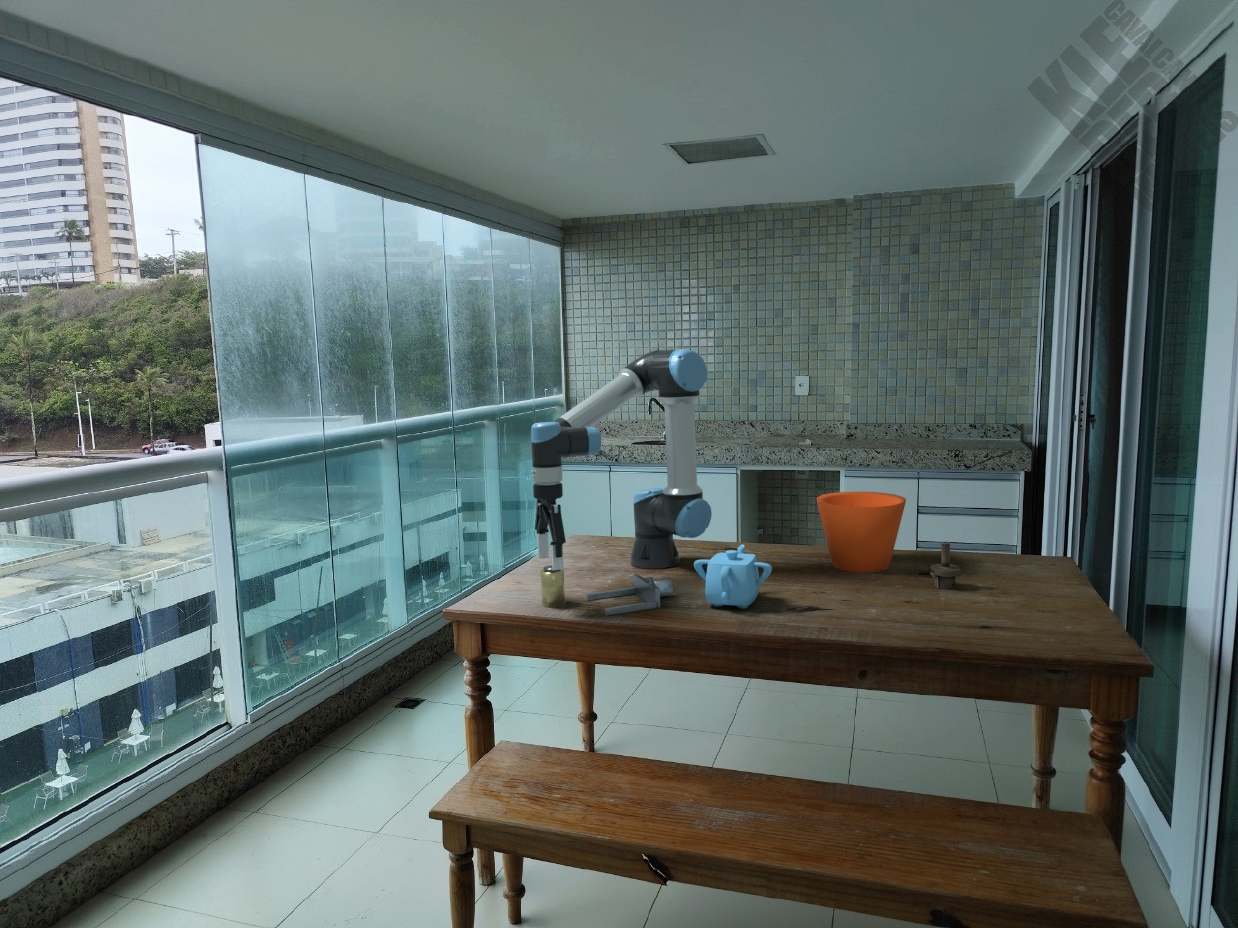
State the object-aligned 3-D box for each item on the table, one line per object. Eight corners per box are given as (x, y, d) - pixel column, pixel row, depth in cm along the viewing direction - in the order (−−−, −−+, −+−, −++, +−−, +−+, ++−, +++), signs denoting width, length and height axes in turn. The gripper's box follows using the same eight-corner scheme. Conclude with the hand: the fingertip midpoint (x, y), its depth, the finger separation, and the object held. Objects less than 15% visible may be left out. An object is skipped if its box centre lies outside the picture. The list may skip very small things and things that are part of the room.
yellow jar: (561, 599, 219) (559, 563, 218) (568, 605, 214) (566, 568, 213) (539, 602, 217) (537, 566, 216) (545, 608, 212) (543, 571, 210)
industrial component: (958, 583, 220) (959, 539, 219) (963, 591, 213) (964, 545, 212) (921, 582, 222) (921, 539, 221) (925, 590, 215) (926, 545, 214)
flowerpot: (914, 559, 246) (915, 494, 243) (892, 580, 225) (893, 509, 222) (832, 551, 259) (832, 489, 256) (804, 570, 238) (804, 503, 236)
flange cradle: (658, 588, 225) (657, 568, 225) (681, 603, 211) (681, 581, 211) (586, 599, 218) (585, 578, 218) (606, 615, 204) (605, 592, 203)
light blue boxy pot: (777, 607, 206) (777, 554, 204) (718, 615, 201) (717, 562, 199) (743, 588, 223) (743, 539, 221) (688, 596, 218) (687, 546, 216)
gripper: (521, 477, 222) (524, 554, 224) (546, 490, 198) (549, 576, 201) (548, 475, 224) (551, 551, 227) (576, 488, 201) (579, 572, 204)
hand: (550, 563), depth 214 cm, fingers open, 13 cm apart
